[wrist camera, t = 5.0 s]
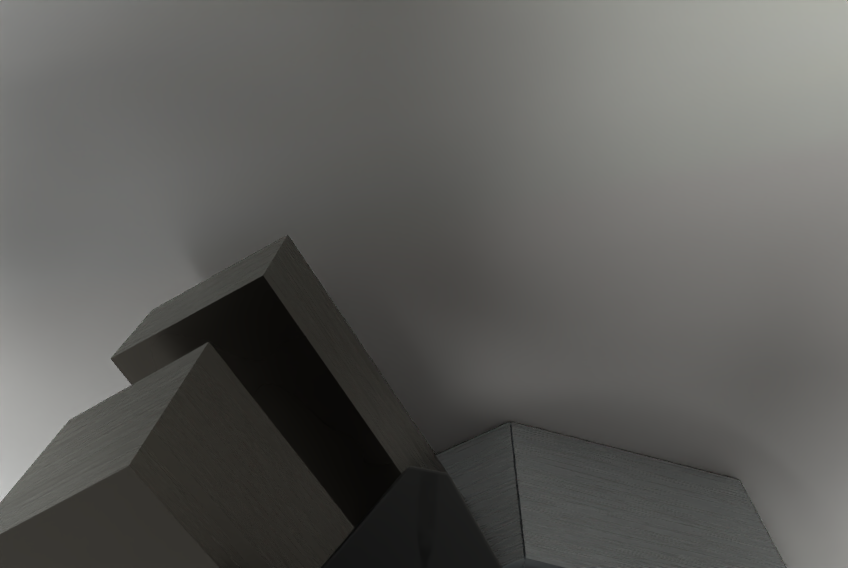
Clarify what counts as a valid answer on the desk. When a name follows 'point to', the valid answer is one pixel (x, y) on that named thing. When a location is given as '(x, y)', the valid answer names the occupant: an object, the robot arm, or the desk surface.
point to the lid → (171, 484)
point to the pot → (466, 463)
